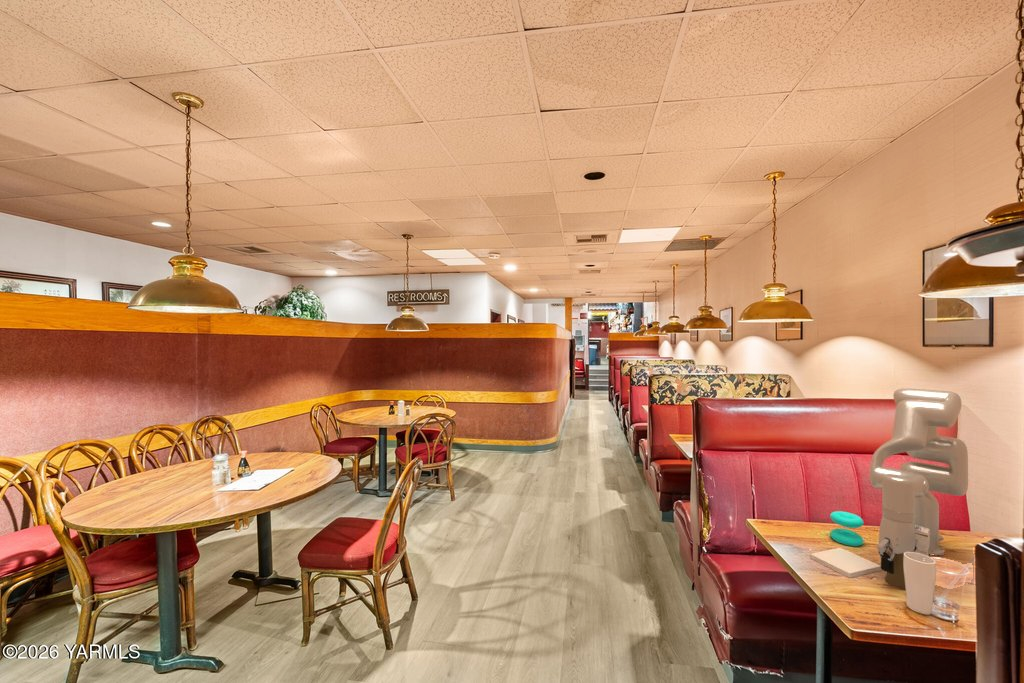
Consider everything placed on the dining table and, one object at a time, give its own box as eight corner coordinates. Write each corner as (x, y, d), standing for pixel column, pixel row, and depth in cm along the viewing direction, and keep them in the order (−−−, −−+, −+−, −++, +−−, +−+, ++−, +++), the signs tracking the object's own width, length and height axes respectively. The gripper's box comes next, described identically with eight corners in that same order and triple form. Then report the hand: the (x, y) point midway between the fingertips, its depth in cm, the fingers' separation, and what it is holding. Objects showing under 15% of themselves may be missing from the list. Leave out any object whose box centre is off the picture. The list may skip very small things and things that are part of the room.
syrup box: (905, 564, 144) (905, 522, 144) (929, 571, 140) (929, 528, 140) (904, 571, 140) (904, 527, 140) (929, 578, 136) (929, 533, 136)
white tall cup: (896, 602, 123) (896, 551, 123) (917, 601, 123) (917, 551, 123) (920, 618, 116) (921, 564, 116) (943, 616, 117) (943, 563, 117)
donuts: (854, 511, 165) (869, 522, 155) (854, 536, 165) (869, 549, 155) (825, 509, 167) (838, 519, 157) (825, 534, 167) (838, 545, 157)
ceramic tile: (840, 551, 153) (840, 547, 153) (880, 570, 140) (880, 565, 140) (810, 558, 148) (810, 553, 148) (849, 578, 136) (849, 573, 136)
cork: (916, 590, 129) (916, 555, 129) (893, 588, 130) (893, 553, 130) (902, 579, 135) (902, 545, 135) (880, 577, 136) (880, 543, 136)
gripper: (901, 507, 139) (901, 559, 138) (866, 513, 133) (865, 567, 133) (930, 516, 131) (930, 571, 131) (893, 523, 126) (893, 580, 126)
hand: (897, 569), depth 132 cm, fingers open, 9 cm apart
